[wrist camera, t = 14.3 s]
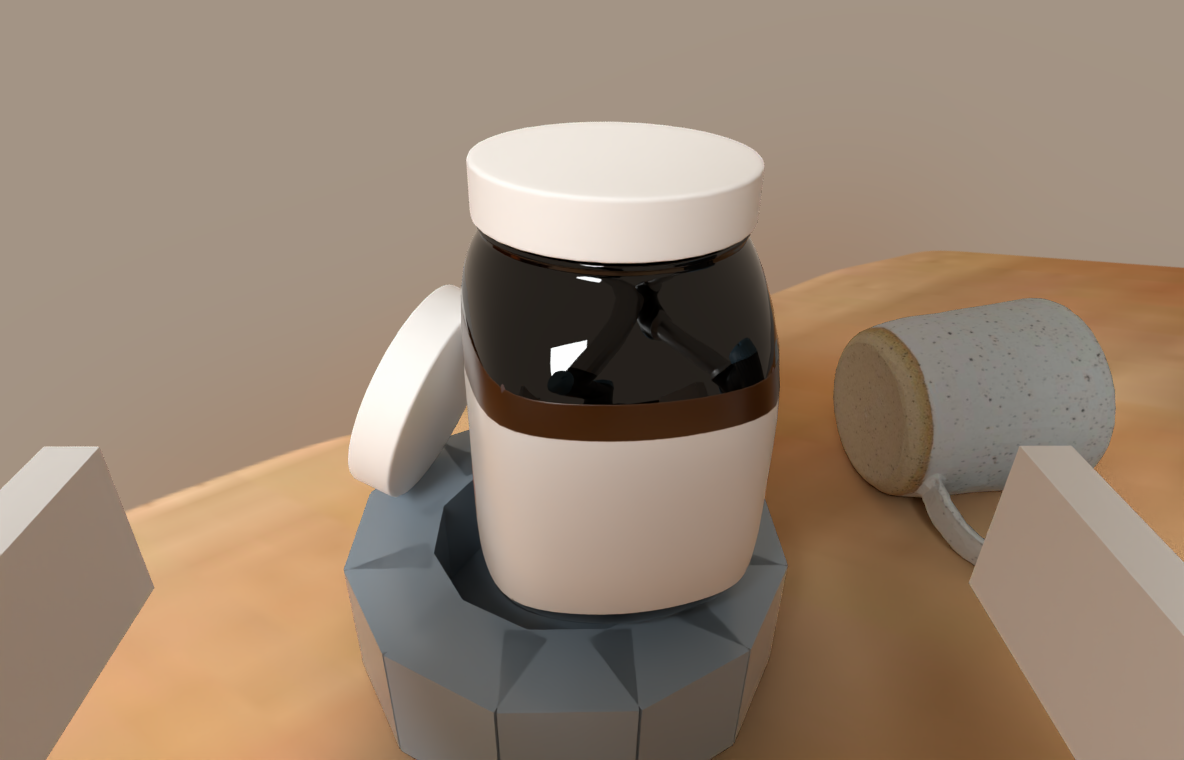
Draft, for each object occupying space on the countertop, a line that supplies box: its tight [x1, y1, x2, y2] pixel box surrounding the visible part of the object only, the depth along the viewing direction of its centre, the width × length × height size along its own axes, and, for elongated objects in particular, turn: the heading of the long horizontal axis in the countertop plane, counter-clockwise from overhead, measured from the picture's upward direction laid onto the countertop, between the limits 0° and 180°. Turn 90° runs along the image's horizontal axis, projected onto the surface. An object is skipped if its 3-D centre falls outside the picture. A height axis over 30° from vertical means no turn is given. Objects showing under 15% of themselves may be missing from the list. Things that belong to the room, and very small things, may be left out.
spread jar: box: [348, 122, 780, 624], centre depth 21 cm, size 12×11×12 cm
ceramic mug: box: [833, 298, 1116, 565], centre depth 30 cm, size 11×8×8 cm
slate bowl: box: [344, 430, 788, 760], centre depth 25 cm, size 13×13×4 cm
